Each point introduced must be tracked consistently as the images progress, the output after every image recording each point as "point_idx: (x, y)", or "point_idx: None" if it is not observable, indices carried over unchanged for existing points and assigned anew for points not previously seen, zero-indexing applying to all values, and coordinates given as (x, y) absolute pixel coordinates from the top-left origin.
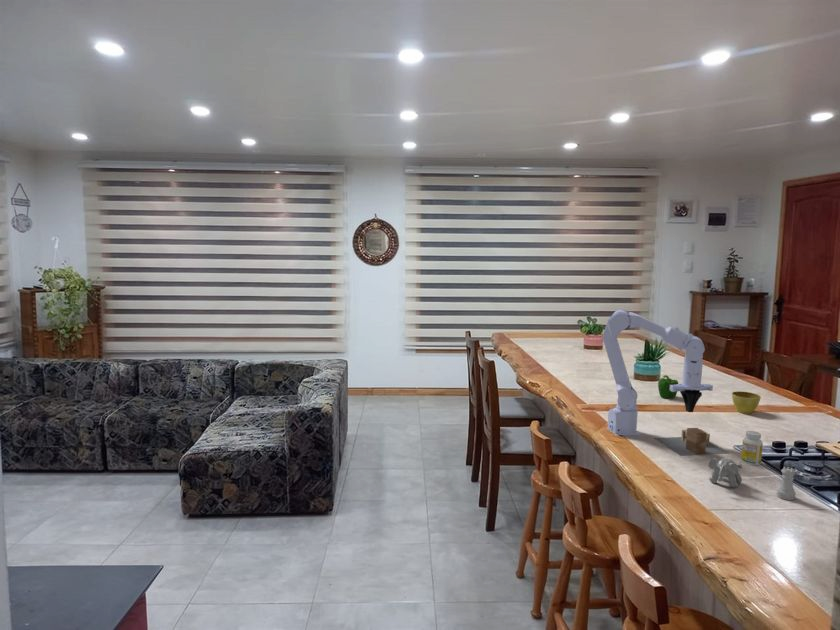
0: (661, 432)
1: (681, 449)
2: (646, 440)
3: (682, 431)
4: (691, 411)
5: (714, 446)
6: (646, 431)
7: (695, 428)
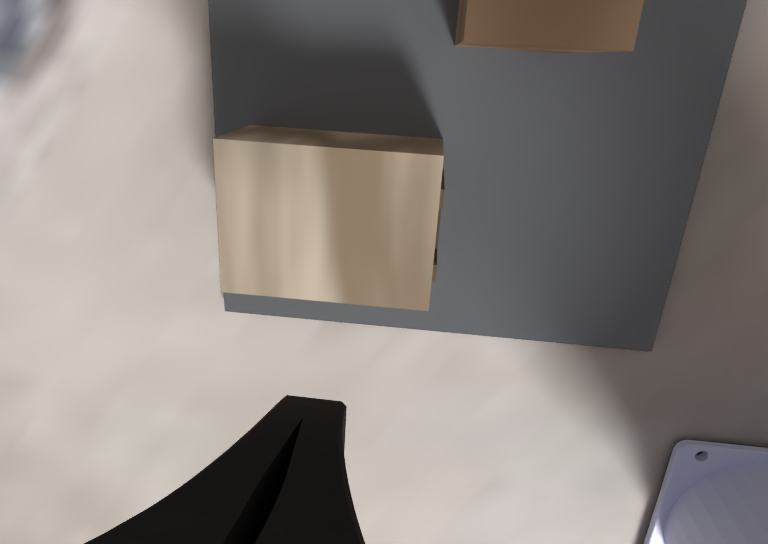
0: (458, 454)
1: None
2: (729, 337)
3: (429, 296)
4: (308, 403)
5: (239, 53)
6: (561, 495)
7: (516, 8)
